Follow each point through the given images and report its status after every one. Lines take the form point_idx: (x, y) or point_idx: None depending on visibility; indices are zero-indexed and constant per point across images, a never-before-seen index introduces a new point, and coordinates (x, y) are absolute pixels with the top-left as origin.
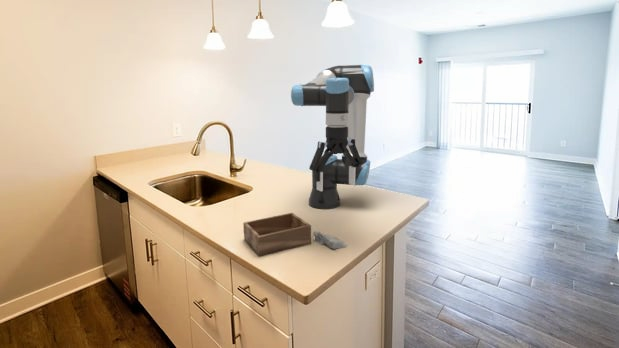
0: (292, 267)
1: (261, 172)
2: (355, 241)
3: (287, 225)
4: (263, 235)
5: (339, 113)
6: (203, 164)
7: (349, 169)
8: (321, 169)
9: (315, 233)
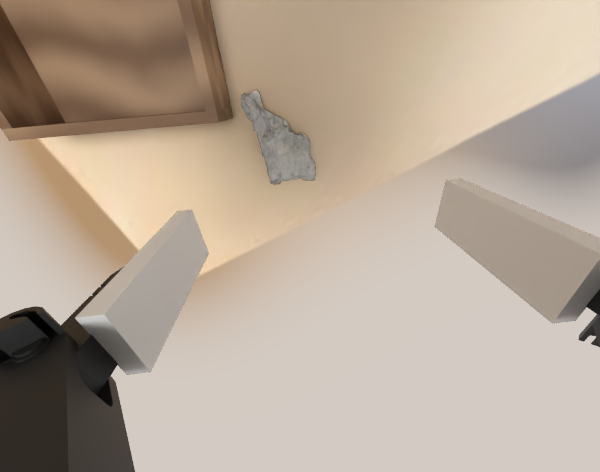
0: (160, 214)
1: None
2: (350, 161)
3: None
4: (26, 131)
5: None
6: None
7: (550, 238)
8: (114, 406)
9: (247, 107)
